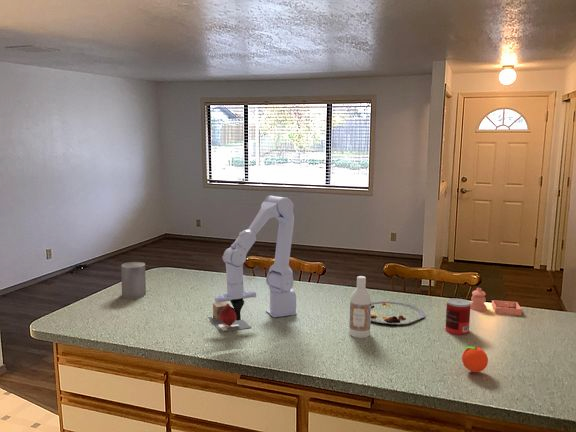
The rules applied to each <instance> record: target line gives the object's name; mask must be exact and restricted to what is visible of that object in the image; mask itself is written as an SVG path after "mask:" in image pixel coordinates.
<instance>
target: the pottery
mask: <svg viewBox="0 0 576 432" xmlns="http://www.w3.org/2000/svg"><path fill="white" fill-rule="evenodd" d="M471 294H472V296H471V299H470V300H471V301H472V302H470V310H471V311H476V312H485V311H487V310H488V308H487V306H486V304H485V303H486V301H487V299H486V295H487V294H486V292H485V291H483V290H482V288H481V287H476V289H475V290H472V292H471ZM491 306H492V309H493V312H494V313H495V314H498V315H508V316H523V315H522V314H523V308H522V307H521V306H520V305H519V302H517V301H508V300H491Z"/></svg>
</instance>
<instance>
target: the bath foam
mask: <svg viewBox="0 0 576 432" xmlns="http://www.w3.org/2000/svg"><path fill="white" fill-rule="evenodd" d="M366 282H367V278H366V276H363V275H359V276H357V277H356V288H355V289H354V290H353V292H352V293H351V296H350V299H349V327H348V328H349V331H348V332H349V335H350V336H351V337H353V338H357V339H365V338H369V336H370V335H371V323H372V322H371V311H372V309H371V306H372V305H371V303H372V298H371V294H370V293H369V291H368V289H367V288H366V284H367V283H366Z"/></svg>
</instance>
